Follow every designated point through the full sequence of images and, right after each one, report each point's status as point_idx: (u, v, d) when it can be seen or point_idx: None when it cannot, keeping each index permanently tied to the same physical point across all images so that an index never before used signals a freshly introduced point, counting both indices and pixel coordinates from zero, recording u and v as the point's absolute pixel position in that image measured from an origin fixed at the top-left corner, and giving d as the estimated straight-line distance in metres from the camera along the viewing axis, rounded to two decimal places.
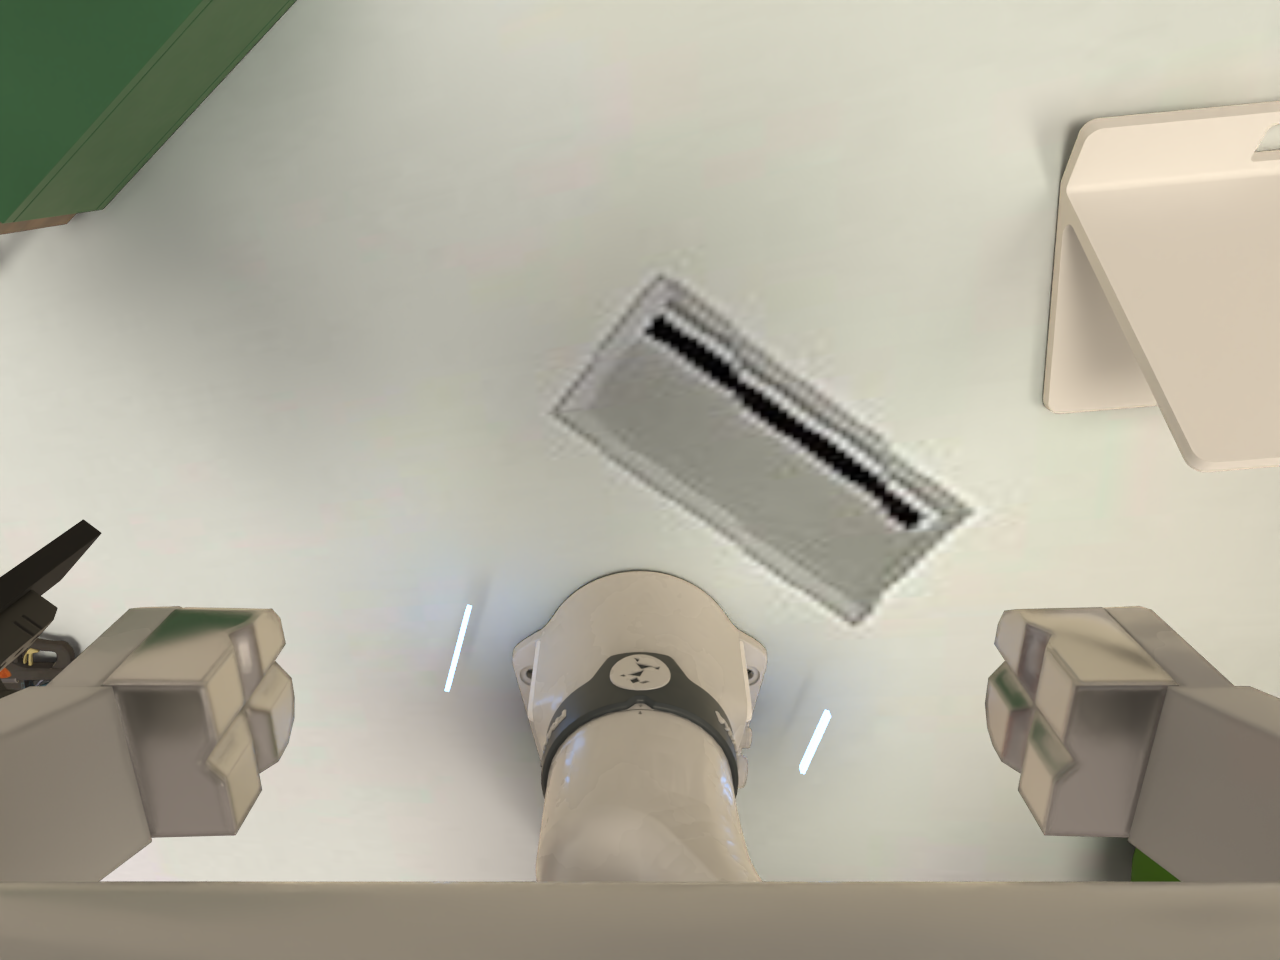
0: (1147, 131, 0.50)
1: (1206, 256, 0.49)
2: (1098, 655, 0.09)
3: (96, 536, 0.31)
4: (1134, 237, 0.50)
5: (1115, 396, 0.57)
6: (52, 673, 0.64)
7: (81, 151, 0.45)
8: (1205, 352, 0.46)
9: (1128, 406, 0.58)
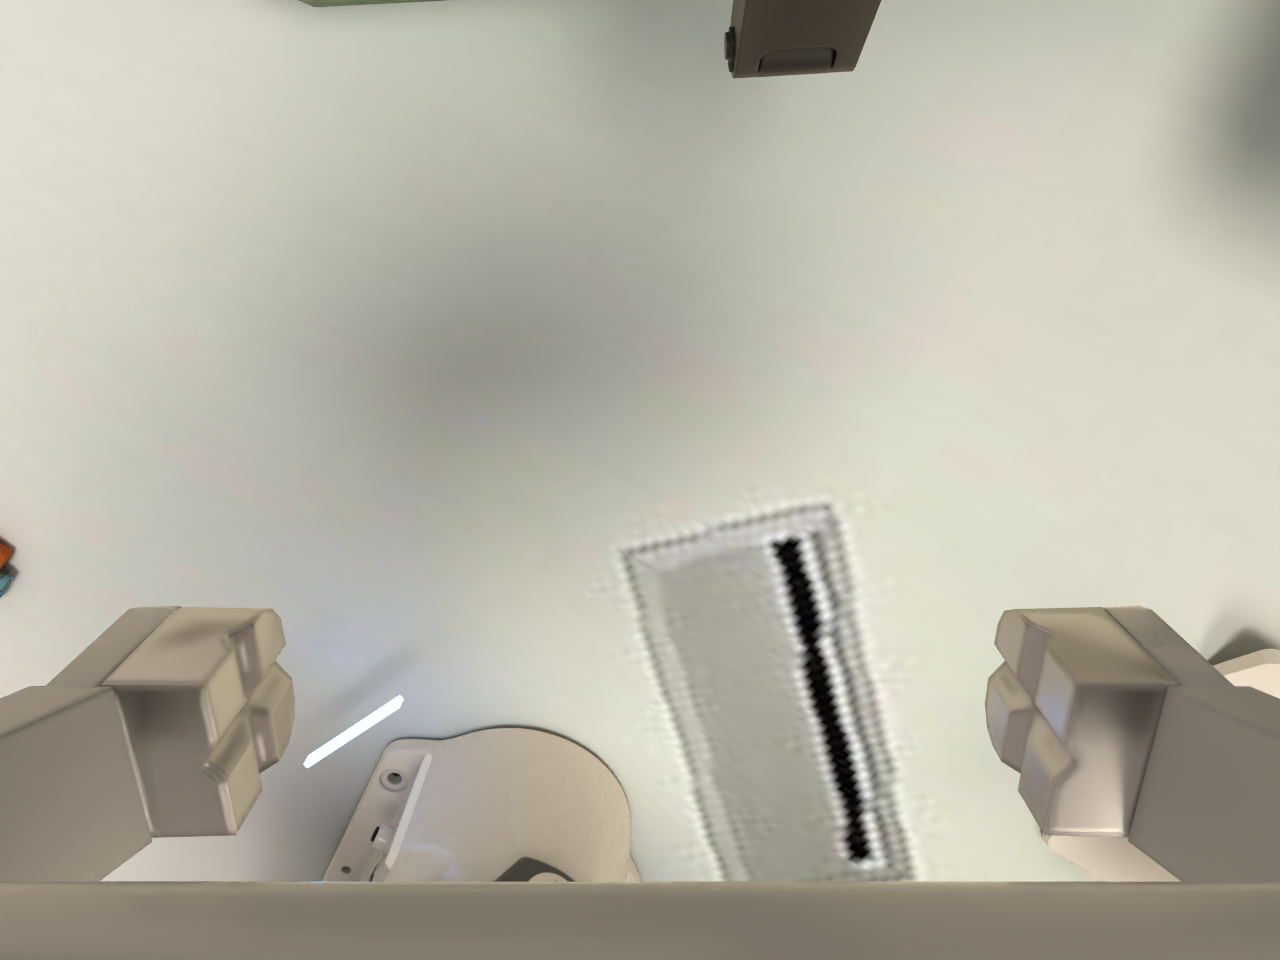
0: None
1: None
2: (1098, 655, 0.09)
3: None
4: None
5: (1103, 865, 0.56)
6: None
7: None
8: None
9: (1105, 879, 0.56)
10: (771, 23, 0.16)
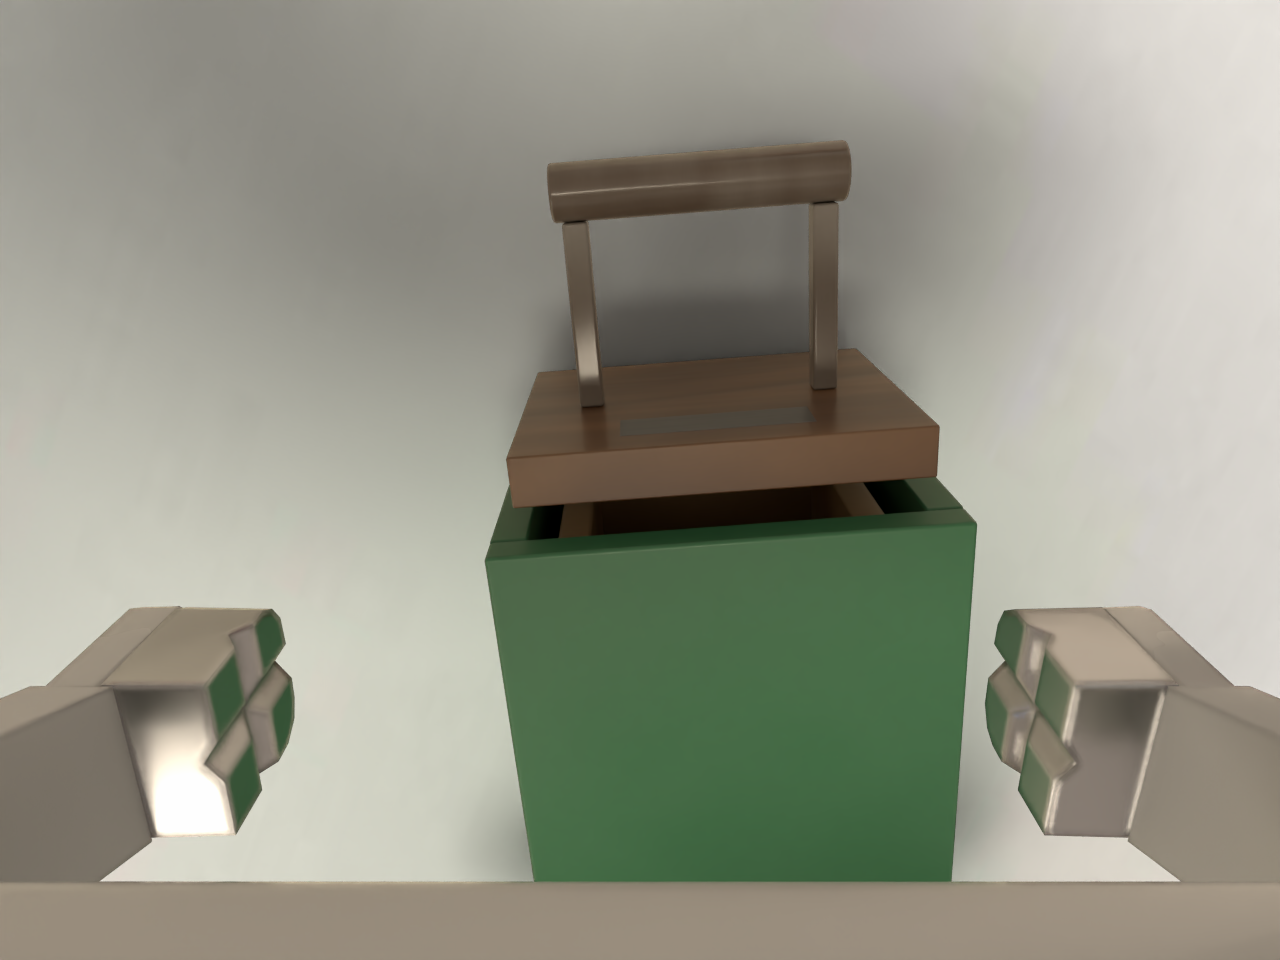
0: None
1: None
2: (1098, 655, 0.09)
3: None
4: None
5: None
6: None
7: None
8: None
9: None
10: None
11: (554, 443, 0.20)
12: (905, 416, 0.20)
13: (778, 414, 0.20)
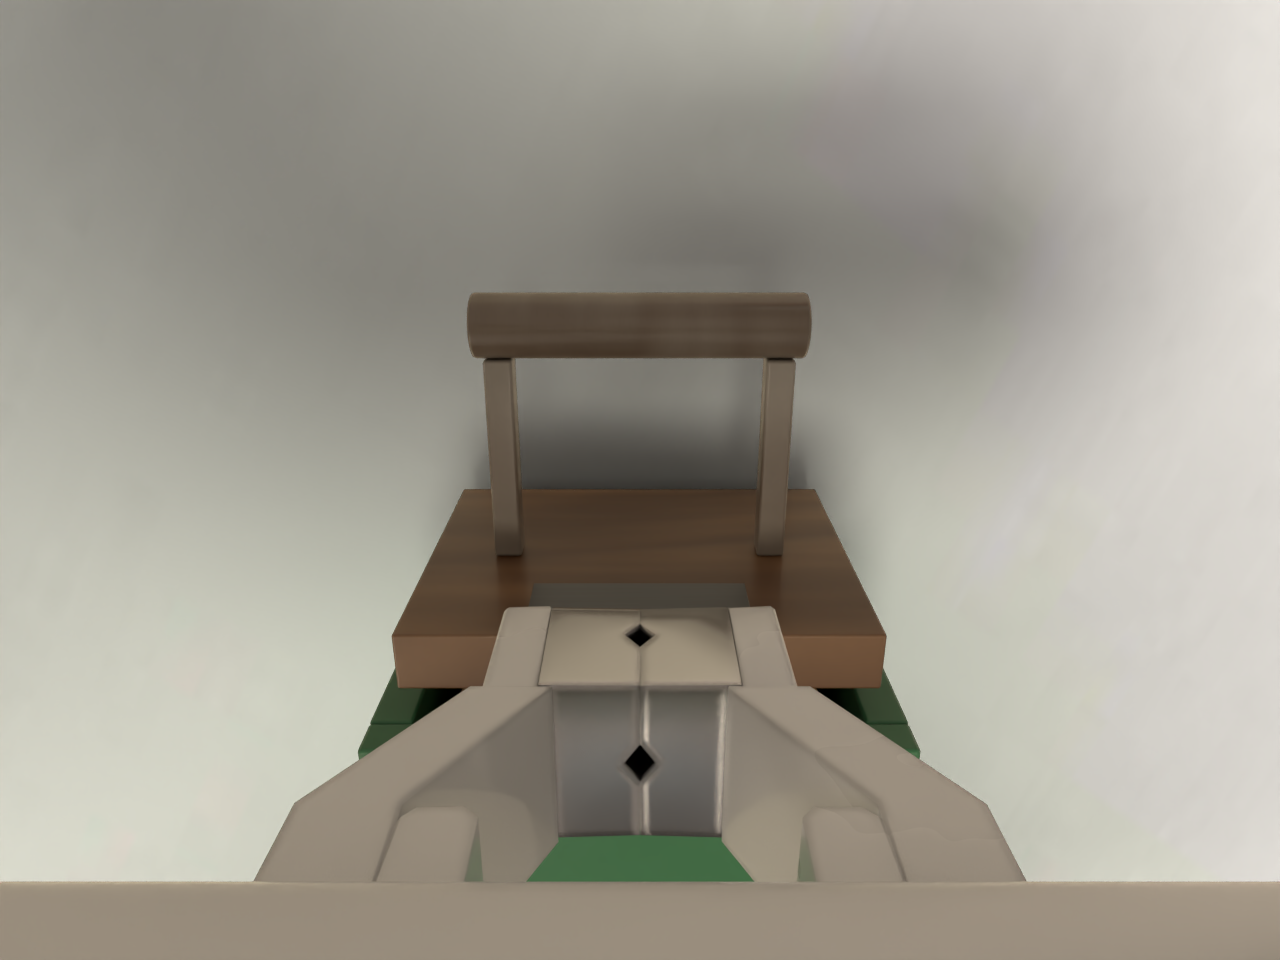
0: None
1: None
2: (685, 655, 0.09)
3: None
4: None
5: None
6: None
7: None
8: None
9: None
10: None
11: (452, 615, 0.17)
12: (850, 614, 0.17)
13: (710, 593, 0.18)
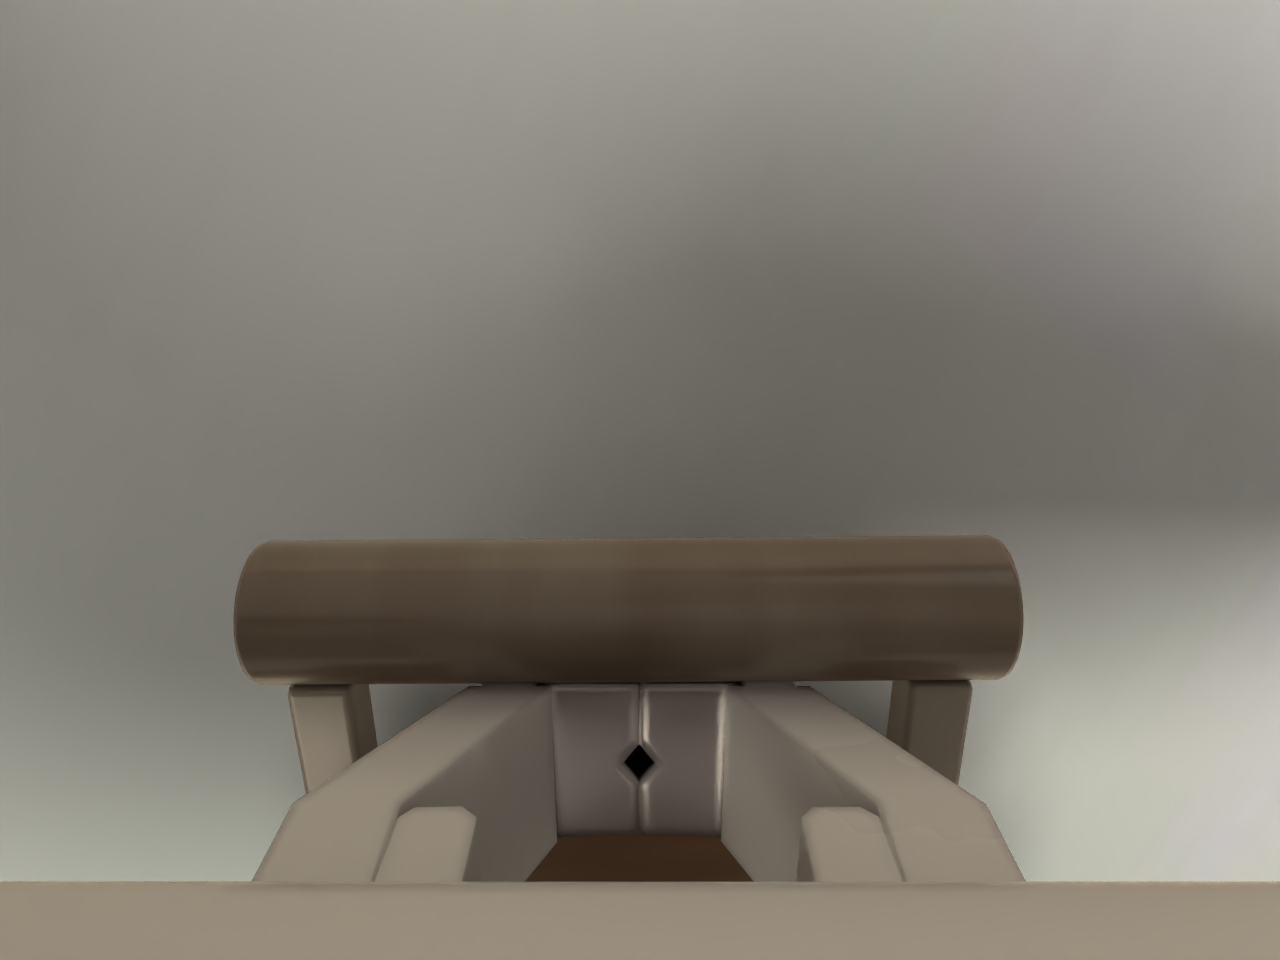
0: None
1: None
2: None
3: None
4: None
5: None
6: None
7: None
8: None
9: None
10: None
11: None
12: None
13: None
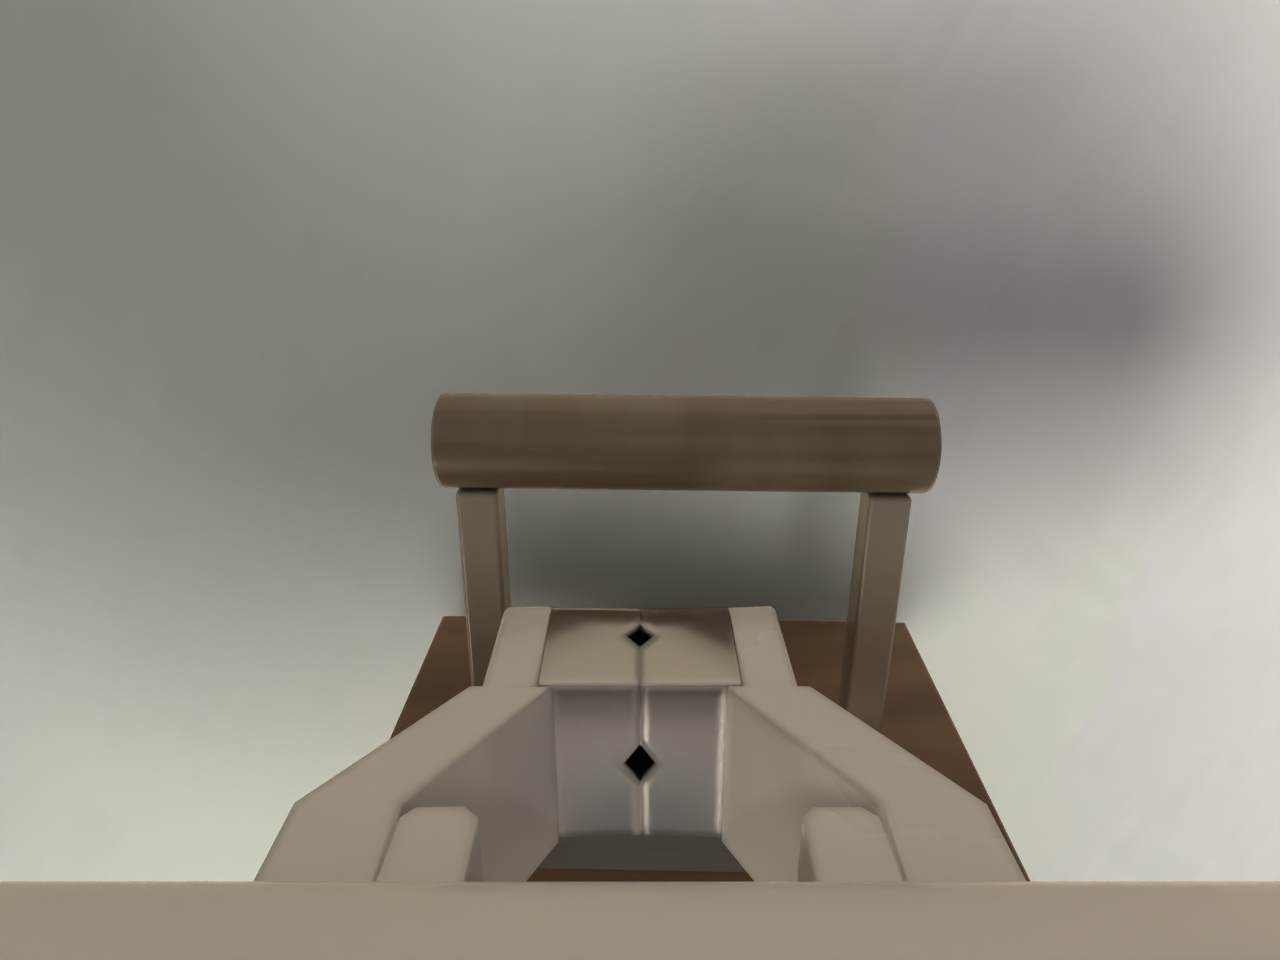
0: None
1: None
2: (685, 655, 0.09)
3: None
4: None
5: None
6: None
7: None
8: None
9: None
10: None
11: None
12: None
13: None
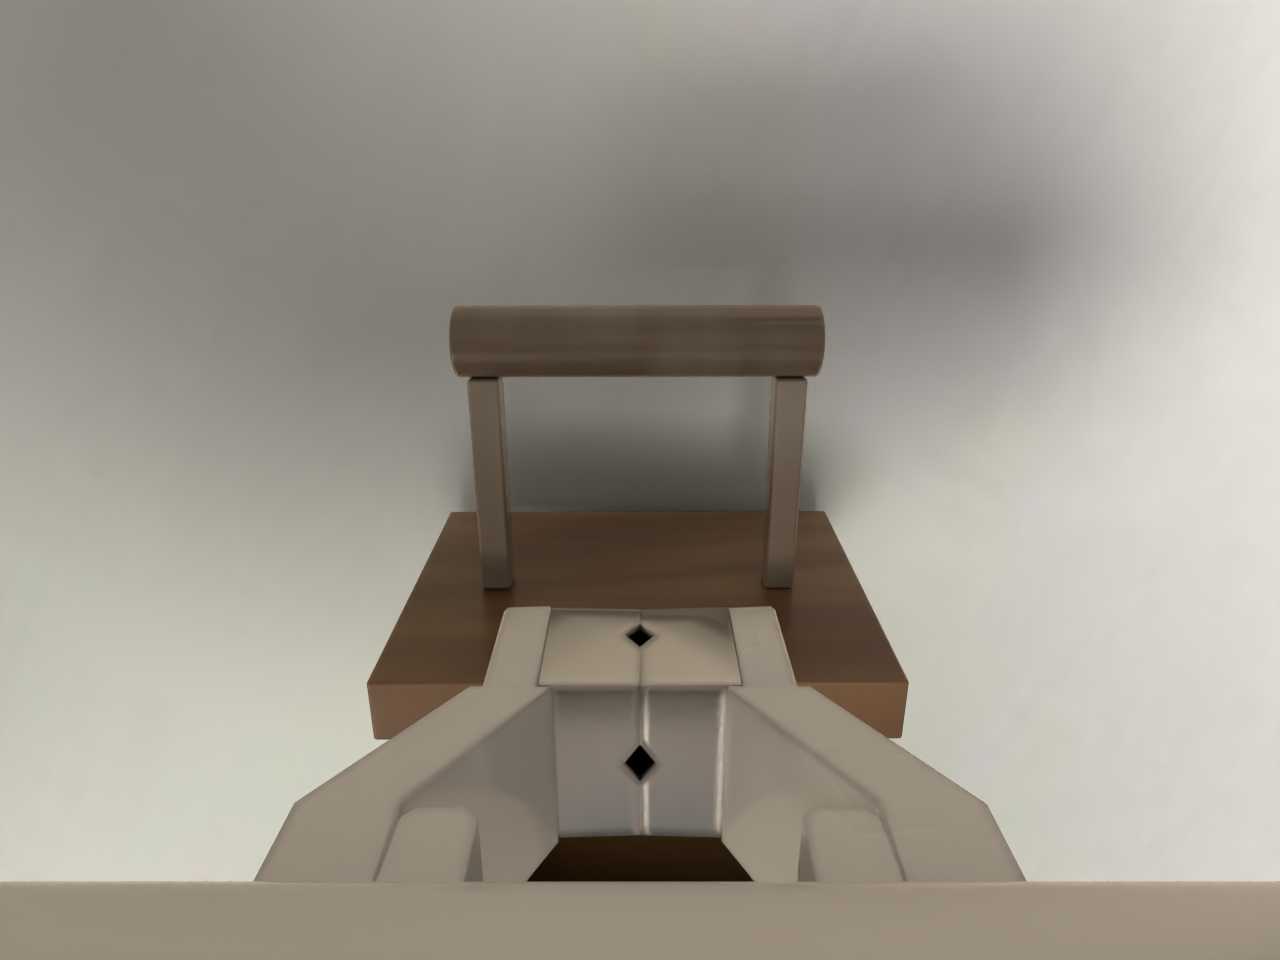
0: None
1: None
2: (684, 655, 0.09)
3: None
4: None
5: None
6: None
7: None
8: None
9: None
10: None
11: (434, 659, 0.16)
12: (868, 656, 0.16)
13: None
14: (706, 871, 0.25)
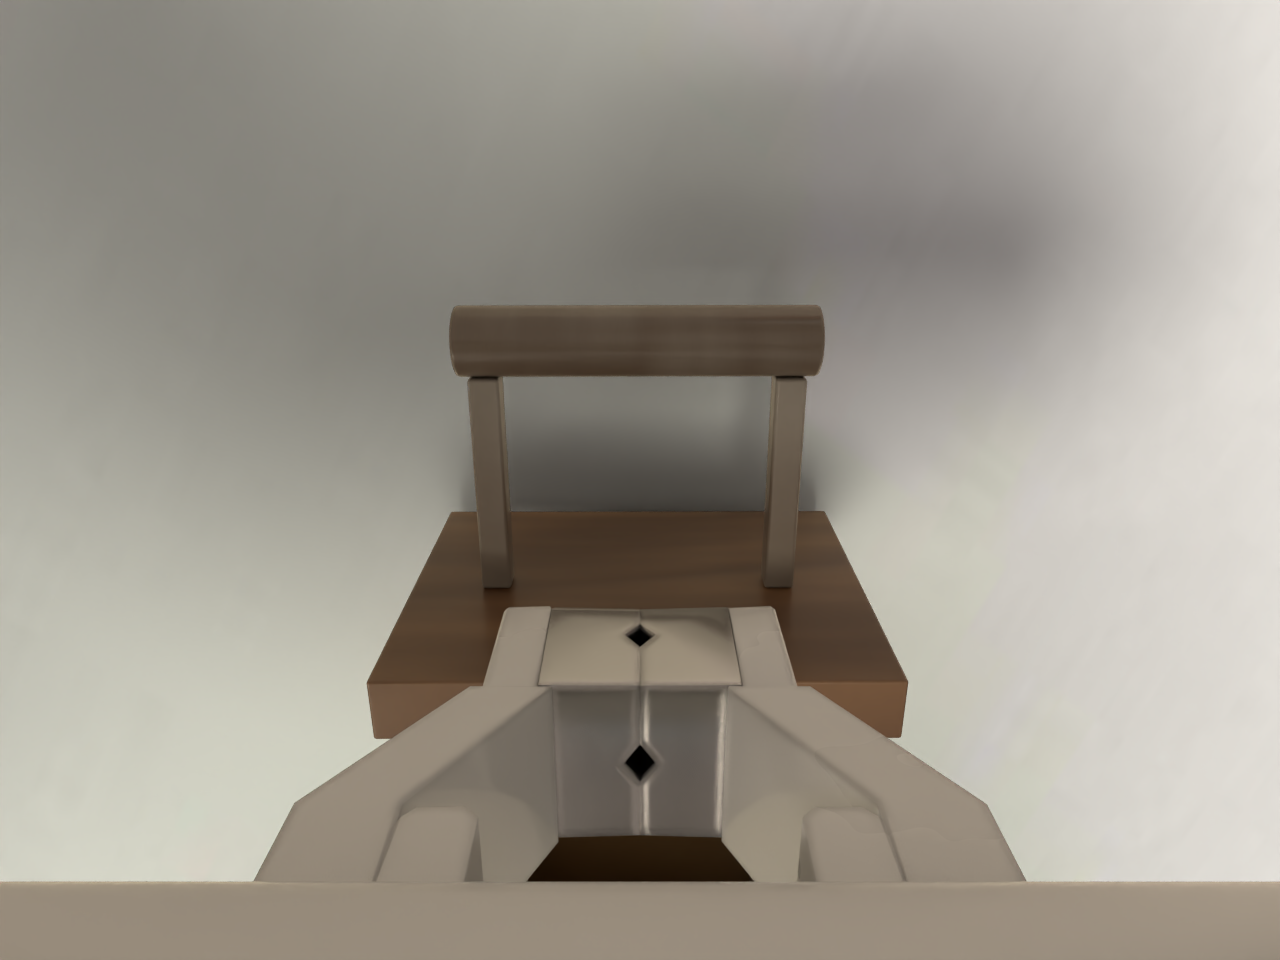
0: None
1: None
2: (684, 655, 0.09)
3: None
4: None
5: None
6: None
7: None
8: None
9: None
10: None
11: (433, 657, 0.16)
12: (868, 656, 0.16)
13: None
14: (706, 871, 0.25)
